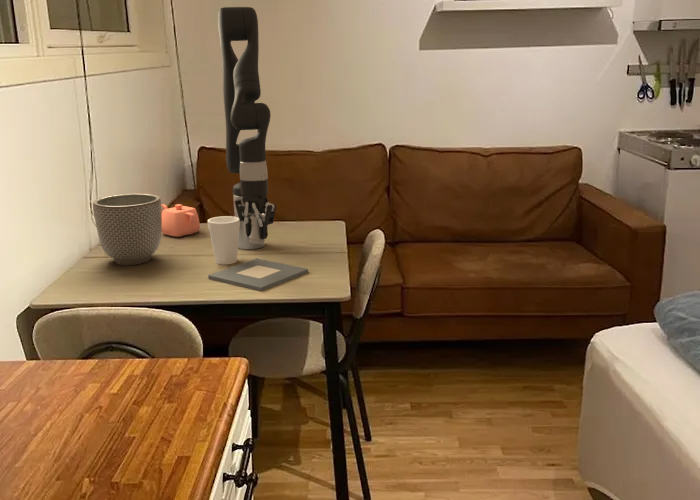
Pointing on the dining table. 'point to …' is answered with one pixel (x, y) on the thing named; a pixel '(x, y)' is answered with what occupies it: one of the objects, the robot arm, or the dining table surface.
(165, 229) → the teapot
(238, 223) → the foam cup
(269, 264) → the board
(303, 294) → the dining table surface
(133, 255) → the planter
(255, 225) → the rook chess piece
